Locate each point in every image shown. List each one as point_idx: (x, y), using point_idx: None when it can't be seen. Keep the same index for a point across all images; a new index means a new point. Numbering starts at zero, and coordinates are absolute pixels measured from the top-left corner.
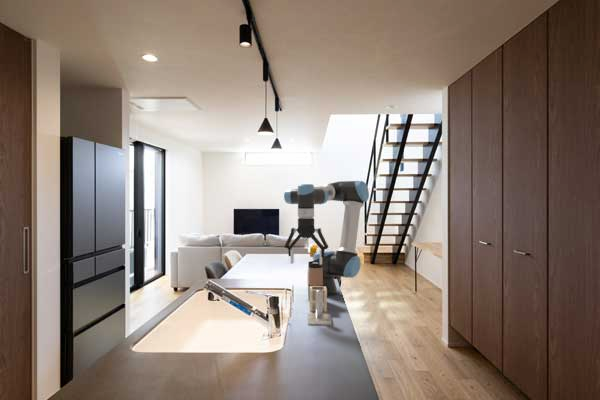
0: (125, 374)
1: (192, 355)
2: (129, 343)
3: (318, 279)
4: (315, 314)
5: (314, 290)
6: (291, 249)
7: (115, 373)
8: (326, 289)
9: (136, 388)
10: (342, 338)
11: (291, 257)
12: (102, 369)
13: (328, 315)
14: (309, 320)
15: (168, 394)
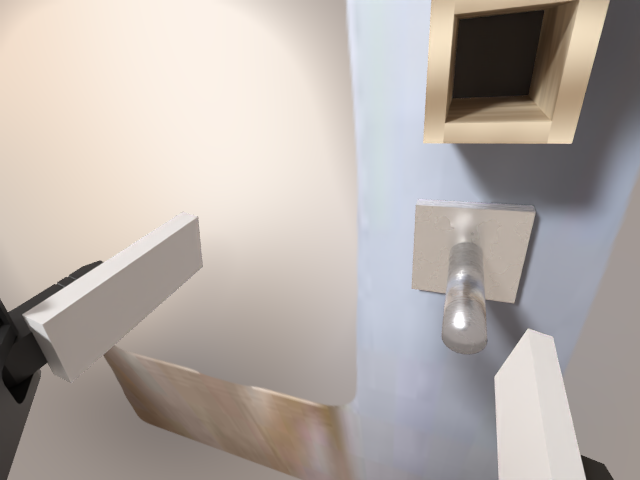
0: (162, 404)
1: (203, 381)
2: None
3: None
4: (453, 219)
5: (459, 142)
6: (56, 368)
7: (150, 399)
8: (576, 114)
9: (195, 434)
10: None
11: (150, 303)
12: (130, 386)
13: (519, 236)
14: (418, 285)
15: (233, 454)
